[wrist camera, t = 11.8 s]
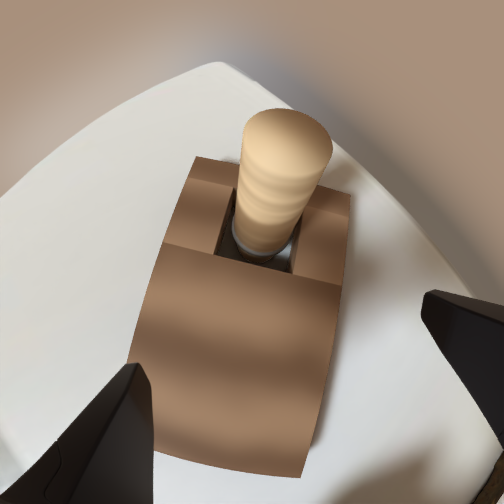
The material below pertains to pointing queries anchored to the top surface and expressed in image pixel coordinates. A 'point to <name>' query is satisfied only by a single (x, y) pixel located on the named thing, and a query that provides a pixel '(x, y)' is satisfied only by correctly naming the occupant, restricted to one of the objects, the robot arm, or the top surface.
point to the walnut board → (240, 332)
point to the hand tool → (493, 485)
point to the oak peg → (276, 179)
